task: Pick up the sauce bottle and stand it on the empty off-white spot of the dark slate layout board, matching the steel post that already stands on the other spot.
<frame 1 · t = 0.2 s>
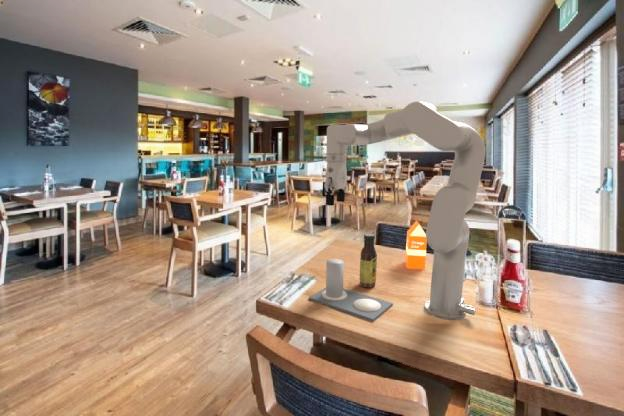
hand: (335, 203, 136), 31 cm above the table, tool pointing down, fingers open, 9 cm apart
orange juice: (414, 265, 158), on the table
layout board: (350, 302, 121), on the table
sauce bottle: (367, 285, 135), on the table
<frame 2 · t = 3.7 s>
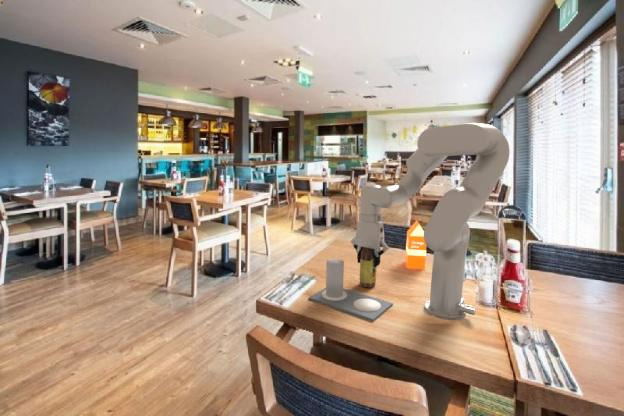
hand: (368, 263, 134), 9 cm above the table, tool pointing down, fingers closed on sauce bottle, 6 cm apart
sauce bottle: (367, 285, 135), on the table, touching gripper
everything else where it was.
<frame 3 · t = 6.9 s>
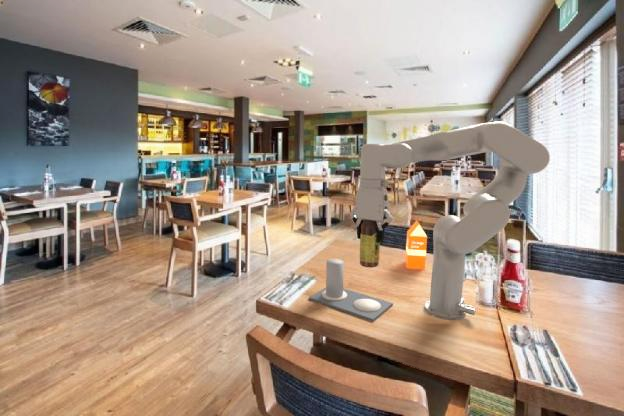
hand: (370, 239, 113), 23 cm above the table, tool pointing down, fingers closed on sauce bottle, 6 cm apart
sauce bottle: (369, 265, 114), point 15 cm above the table, touching gripper
everything else where it was.
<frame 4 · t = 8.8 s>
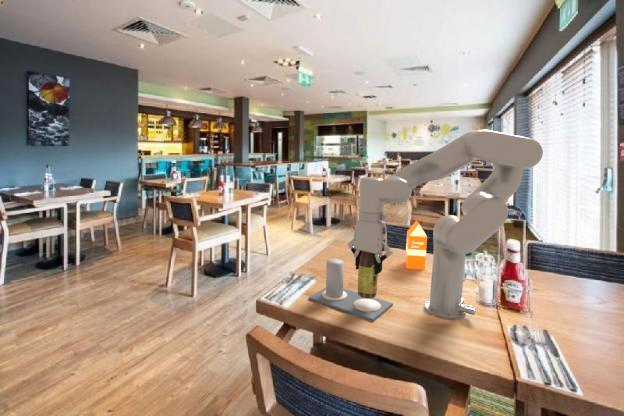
hand: (368, 270, 114), 13 cm above the table, tool pointing down, fingers closed on sauce bottle, 6 cm apart
sauce bottle: (366, 295, 116), point 4 cm above the table, touching gripper
everything else where it was.
when the fingers open (11 cm above the table, at t = 10.2 s): sauce bottle drops 1 cm, resting on layout board.
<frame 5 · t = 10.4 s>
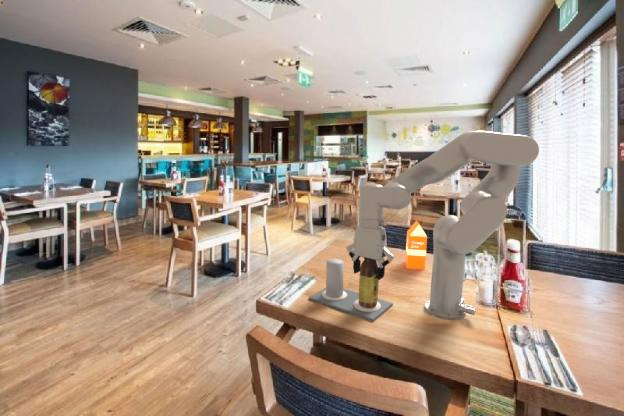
hand: (368, 275, 115), 11 cm above the table, tool pointing down, fingers open, 8 cm apart
sauce bottle: (367, 305, 116), point 1 cm above the table, touching layout board
everything else where it was.
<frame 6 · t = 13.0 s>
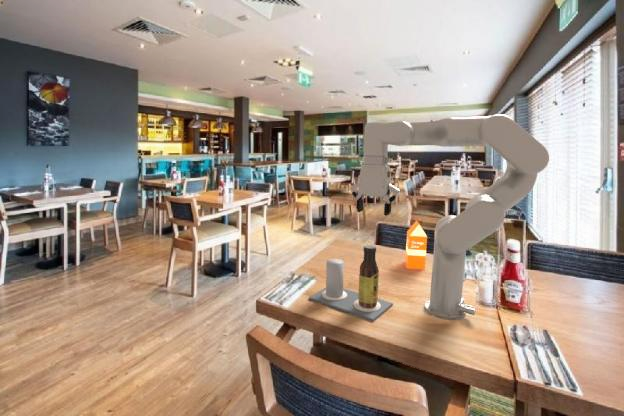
hand: (373, 213, 117), 31 cm above the table, tool pointing down, fingers open, 9 cm apart
nothing on the table moved.
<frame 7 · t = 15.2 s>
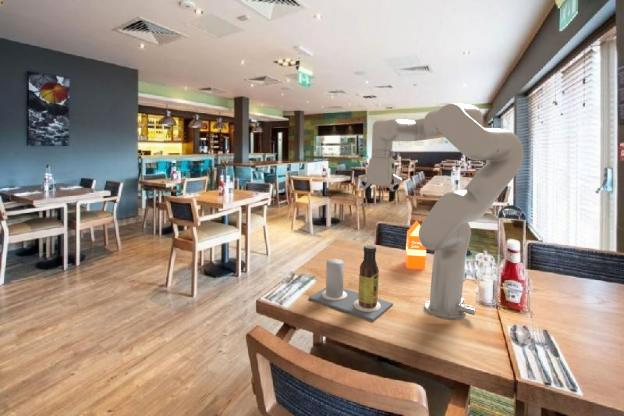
hand: (379, 199, 135), 32 cm above the table, tool pointing down, fingers open, 9 cm apart
nothing on the table moved.
at the end: sauce bottle 0.2 cm from the target spot on the layout board, point 0.9 cm above the layout board's base; sauce bottle tilted 0°; the gripper is holding nothing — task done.
